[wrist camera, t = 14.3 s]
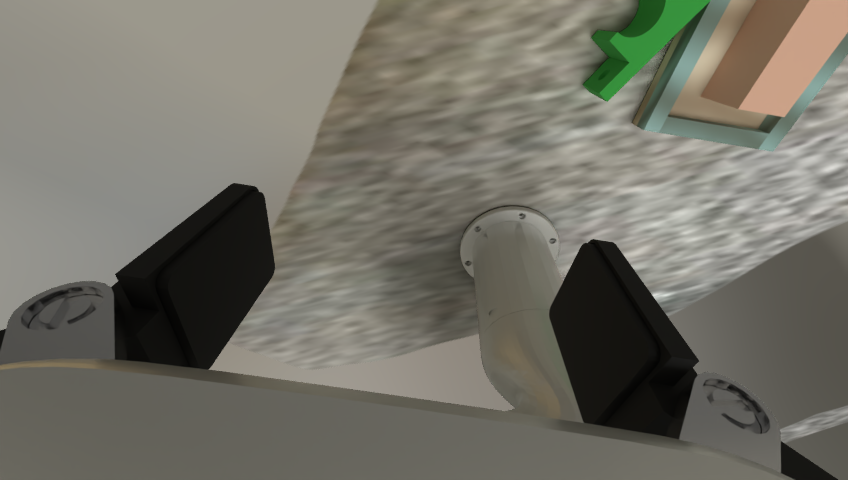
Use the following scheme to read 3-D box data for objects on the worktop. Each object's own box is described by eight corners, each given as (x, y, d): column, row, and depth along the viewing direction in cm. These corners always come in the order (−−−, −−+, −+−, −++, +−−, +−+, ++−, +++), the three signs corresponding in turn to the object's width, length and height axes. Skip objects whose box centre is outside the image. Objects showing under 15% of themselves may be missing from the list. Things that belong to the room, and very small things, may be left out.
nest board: (753, 143, 34) (772, 151, 32) (632, 123, 34) (643, 130, 32) (913, -79, 25) (955, -88, 23) (746, -110, 24) (773, -122, 22)
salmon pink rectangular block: (828, -31, 26) (900, -39, 22) (740, 103, 31) (784, 117, 27) (779, -40, 26) (842, -50, 22) (700, 96, 31) (737, 109, 27)
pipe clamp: (675, -59, 26) (713, -72, 23) (701, -24, 28) (742, -30, 24) (563, 67, 32) (579, 73, 28) (589, 92, 33) (607, 102, 29)
